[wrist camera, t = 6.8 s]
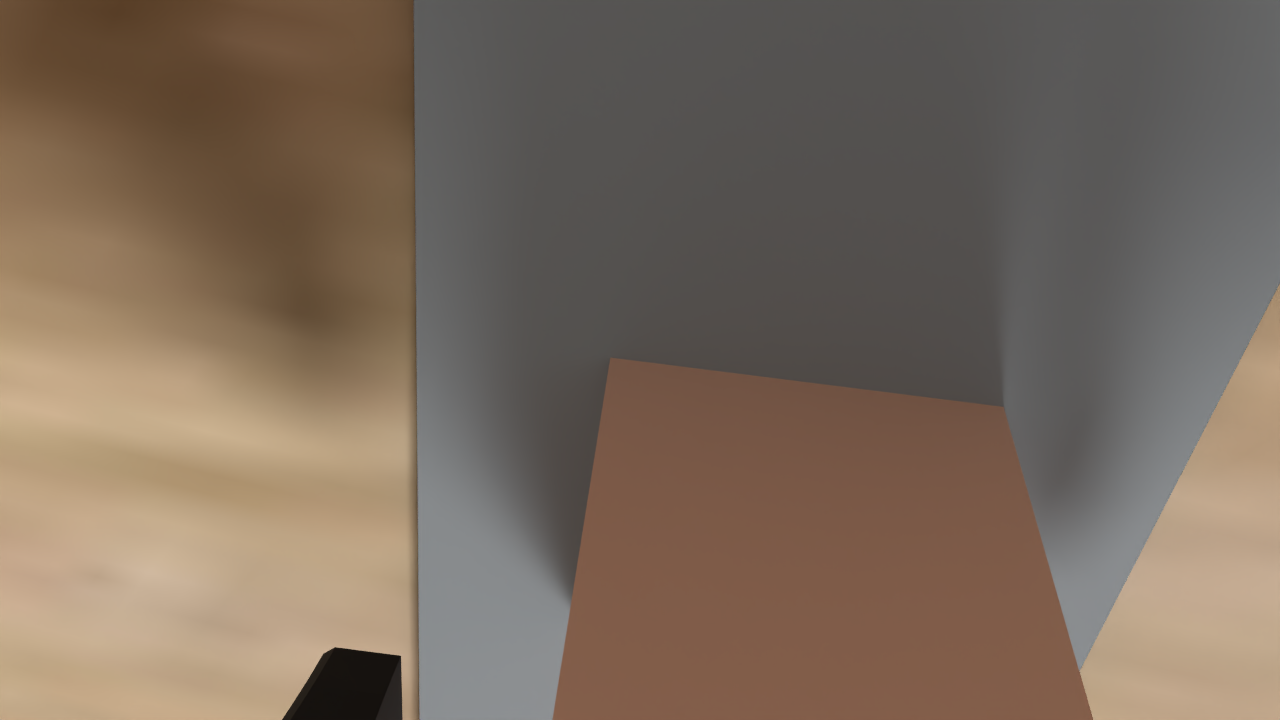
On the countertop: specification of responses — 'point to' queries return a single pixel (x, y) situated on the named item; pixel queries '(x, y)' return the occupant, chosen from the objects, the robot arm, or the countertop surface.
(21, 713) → the countertop surface
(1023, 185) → the slate mat
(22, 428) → the countertop surface
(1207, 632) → the countertop surface
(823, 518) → the terracotta block
